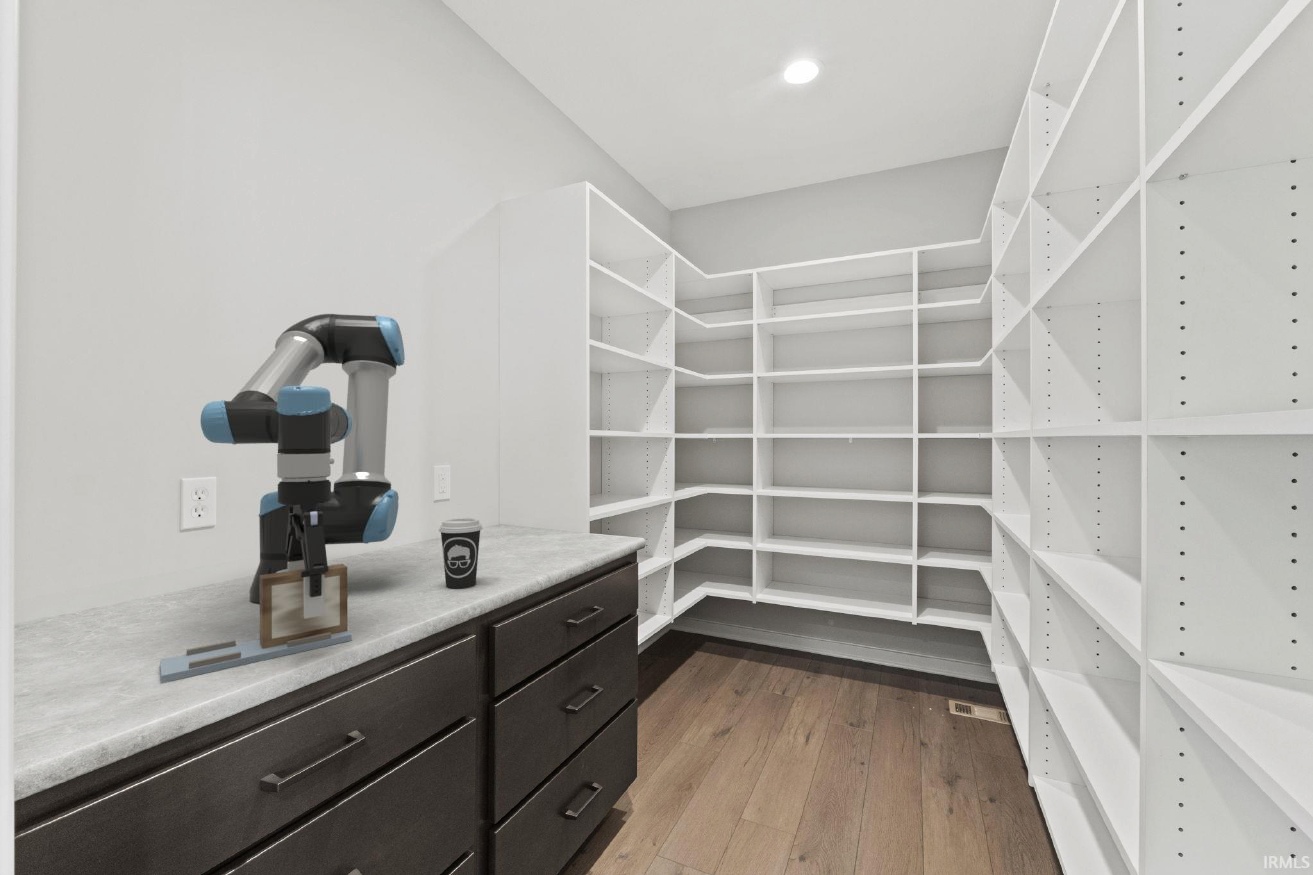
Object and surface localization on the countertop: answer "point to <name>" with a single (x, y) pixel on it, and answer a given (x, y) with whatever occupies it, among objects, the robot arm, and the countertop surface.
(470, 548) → the coffee cup
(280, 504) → the robot arm
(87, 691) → the countertop surface
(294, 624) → the frame
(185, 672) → the ledge
